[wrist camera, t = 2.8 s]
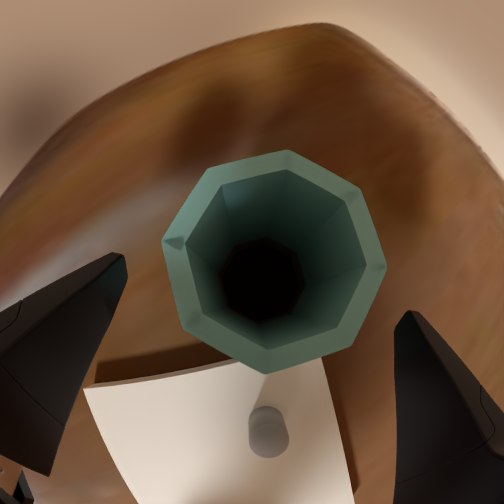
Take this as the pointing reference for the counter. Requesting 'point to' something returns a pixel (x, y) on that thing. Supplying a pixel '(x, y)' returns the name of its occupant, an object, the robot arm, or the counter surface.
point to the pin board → (225, 435)
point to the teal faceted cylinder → (285, 241)
